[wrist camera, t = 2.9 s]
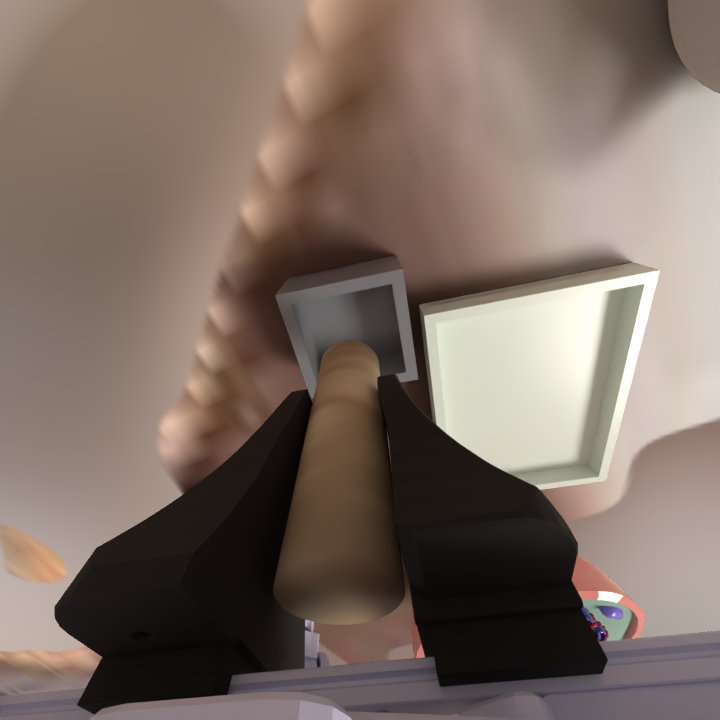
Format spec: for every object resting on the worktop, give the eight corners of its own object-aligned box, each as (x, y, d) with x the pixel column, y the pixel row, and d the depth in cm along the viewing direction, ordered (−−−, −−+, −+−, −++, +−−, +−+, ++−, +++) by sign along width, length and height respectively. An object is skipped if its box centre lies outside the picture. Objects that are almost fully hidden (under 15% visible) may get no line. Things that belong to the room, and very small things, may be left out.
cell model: (382, 594, 35) (391, 753, 26) (428, 473, 26) (471, 652, 16) (524, 605, 37) (584, 759, 27) (618, 493, 27) (766, 670, 17)
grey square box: (317, 369, 21) (310, 398, 18) (288, 278, 18) (274, 295, 15) (410, 352, 20) (418, 379, 17) (395, 254, 17) (402, 268, 14)
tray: (440, 483, 26) (445, 502, 25) (418, 304, 19) (424, 315, 17) (590, 462, 25) (605, 480, 24) (633, 262, 17) (660, 269, 16)
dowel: (329, 394, 15) (295, 629, 7) (314, 346, 14) (252, 566, 6) (383, 384, 15) (412, 617, 7) (373, 334, 13) (394, 548, 5)
